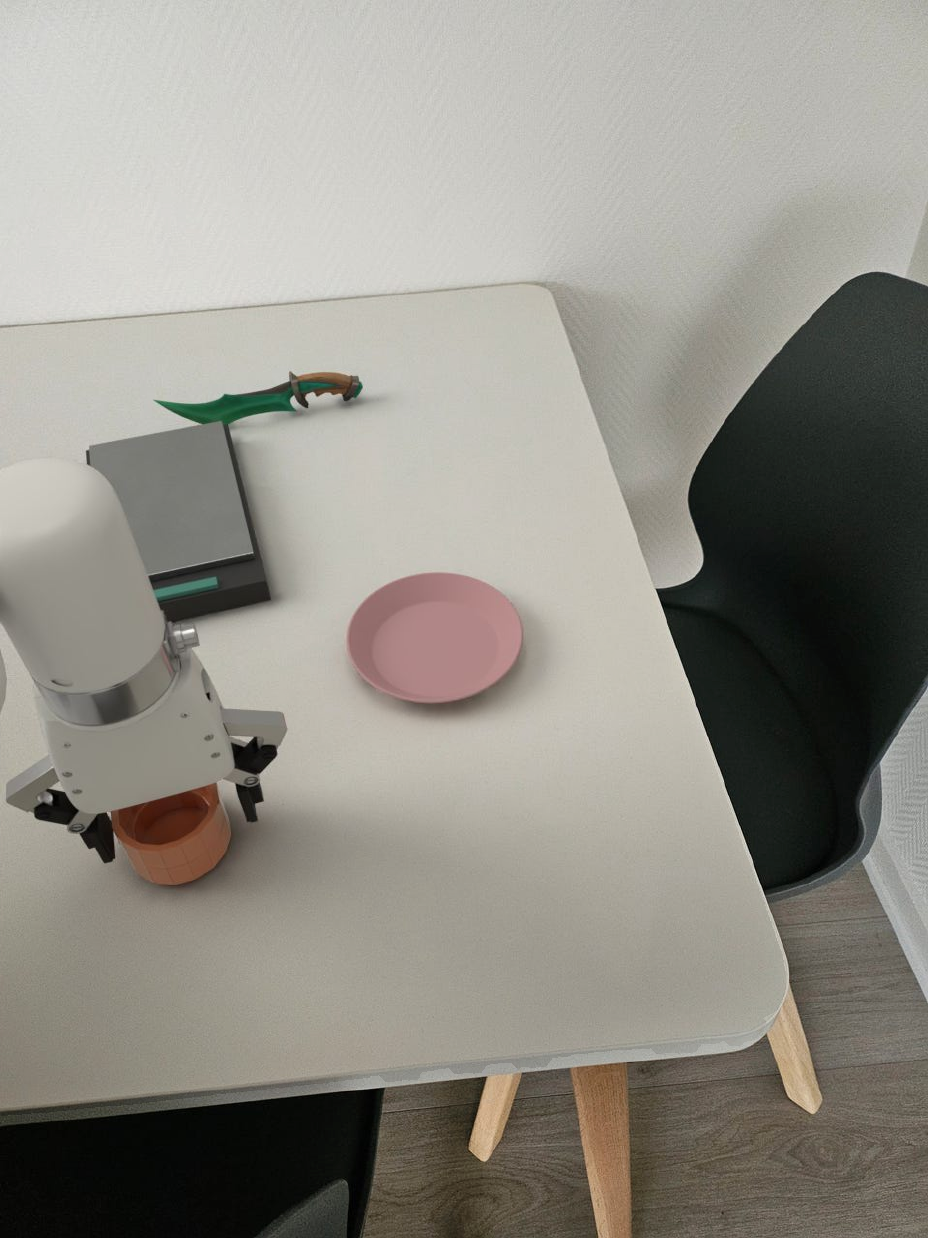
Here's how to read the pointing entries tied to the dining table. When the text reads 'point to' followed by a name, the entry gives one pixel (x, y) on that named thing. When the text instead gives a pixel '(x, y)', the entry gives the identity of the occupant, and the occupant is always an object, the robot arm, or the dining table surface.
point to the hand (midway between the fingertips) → (180, 824)
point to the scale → (187, 517)
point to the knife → (268, 398)
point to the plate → (434, 637)
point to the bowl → (174, 835)
